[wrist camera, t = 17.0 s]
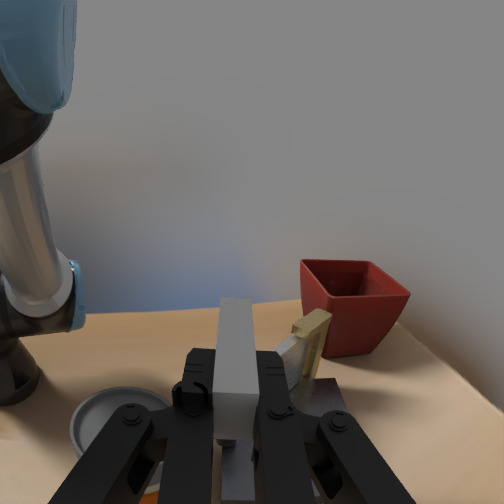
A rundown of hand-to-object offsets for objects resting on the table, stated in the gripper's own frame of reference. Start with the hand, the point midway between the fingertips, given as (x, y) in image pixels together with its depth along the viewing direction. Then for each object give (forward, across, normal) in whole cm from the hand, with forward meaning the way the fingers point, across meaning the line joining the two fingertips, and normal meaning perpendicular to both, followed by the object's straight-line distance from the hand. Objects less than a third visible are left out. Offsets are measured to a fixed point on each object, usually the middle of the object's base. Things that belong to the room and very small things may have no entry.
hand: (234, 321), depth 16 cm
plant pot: (+43, +26, -32) cm, 60 cm away
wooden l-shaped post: (+26, +13, -32) cm, 43 cm away
